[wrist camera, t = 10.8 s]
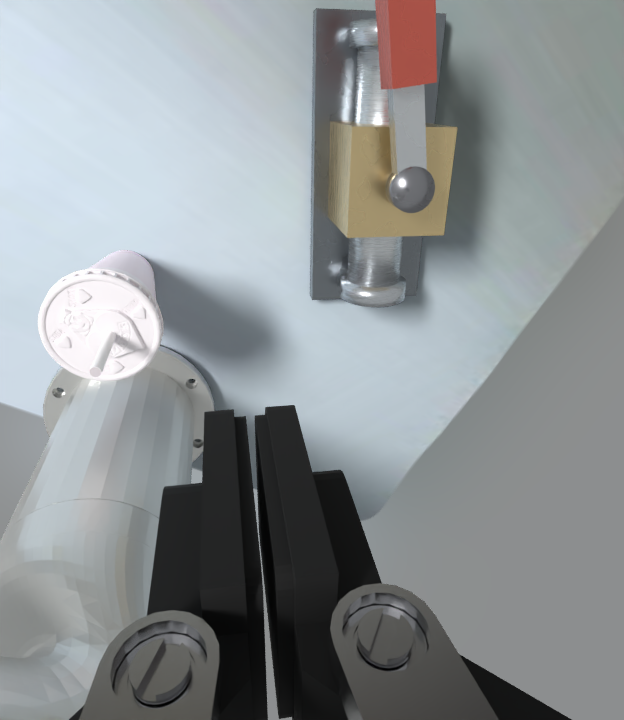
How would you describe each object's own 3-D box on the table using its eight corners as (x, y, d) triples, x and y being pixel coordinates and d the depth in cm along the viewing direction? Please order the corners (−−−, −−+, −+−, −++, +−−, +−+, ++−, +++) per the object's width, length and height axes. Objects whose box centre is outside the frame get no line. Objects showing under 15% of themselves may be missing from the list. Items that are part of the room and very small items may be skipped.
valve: (411, 290, 41) (451, 330, 34) (310, 295, 40) (330, 337, 33) (440, 15, 33) (499, -5, 26) (313, 10, 32) (341, -13, 25)
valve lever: (427, 205, 30) (441, 212, 28) (386, 212, 30) (397, 219, 28) (420, -37, 25) (436, -47, 23) (371, -31, 25) (383, -40, 23)
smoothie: (153, 332, 39) (126, 442, 27) (64, 296, 37) (-10, 399, 24) (188, 255, 37) (175, 336, 25) (96, 213, 35) (31, 279, 22)
